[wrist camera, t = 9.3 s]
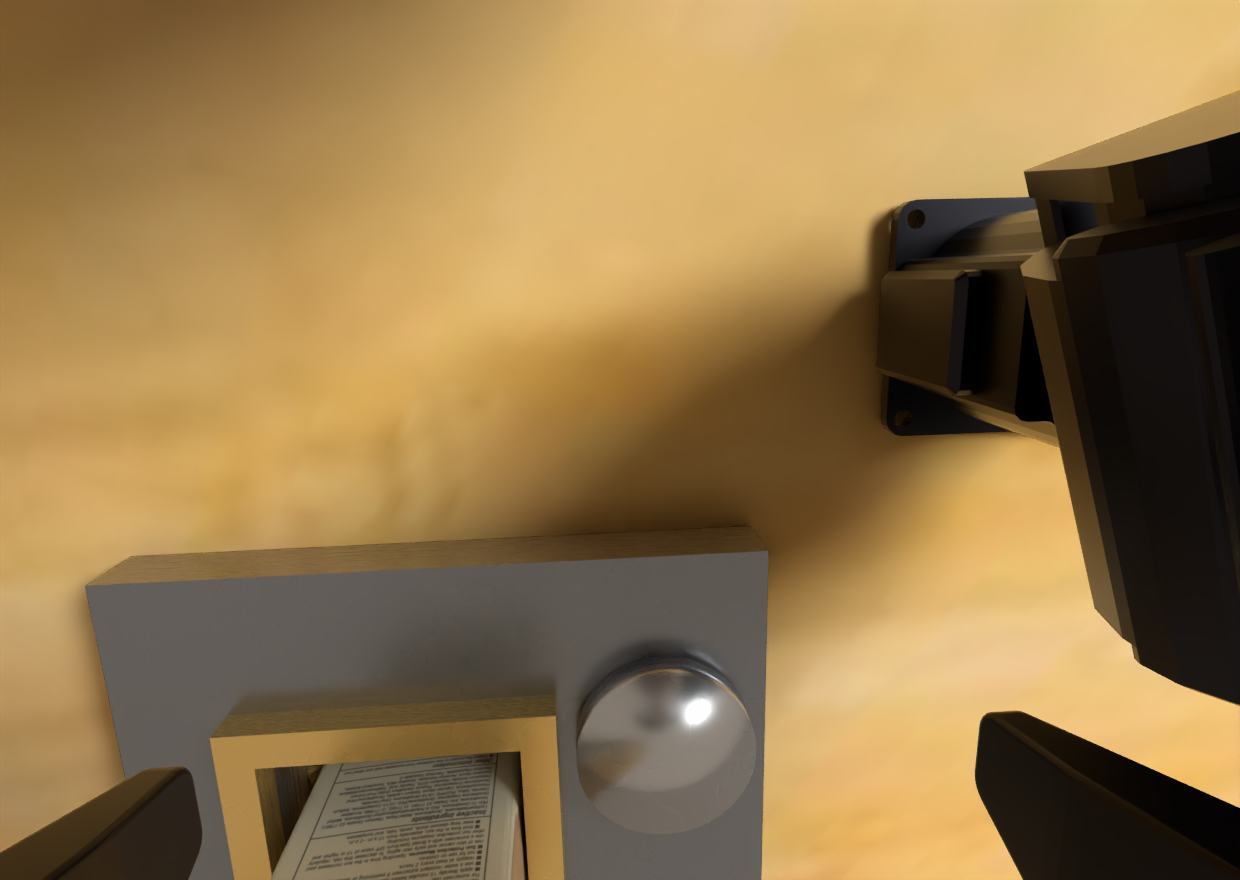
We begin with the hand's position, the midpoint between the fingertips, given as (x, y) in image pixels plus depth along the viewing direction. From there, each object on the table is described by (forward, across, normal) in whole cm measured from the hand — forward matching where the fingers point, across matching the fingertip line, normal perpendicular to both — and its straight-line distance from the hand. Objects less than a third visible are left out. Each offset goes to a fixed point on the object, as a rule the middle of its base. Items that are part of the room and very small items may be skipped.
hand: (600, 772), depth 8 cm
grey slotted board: (+13, +4, +10) cm, 17 cm away
